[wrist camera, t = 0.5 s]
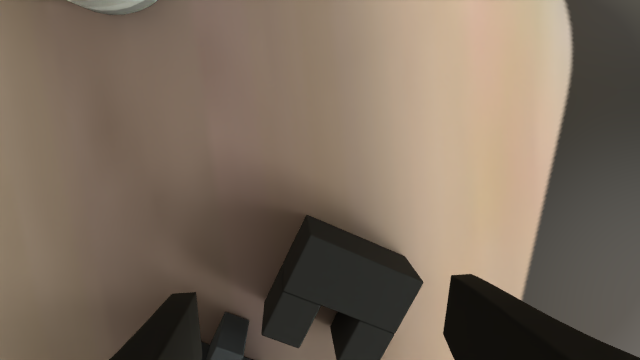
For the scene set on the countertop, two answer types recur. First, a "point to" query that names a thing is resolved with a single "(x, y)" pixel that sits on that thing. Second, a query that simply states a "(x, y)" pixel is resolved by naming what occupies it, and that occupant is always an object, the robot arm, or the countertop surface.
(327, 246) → the black notched block
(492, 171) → the countertop surface
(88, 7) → the travel mug
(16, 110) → the countertop surface
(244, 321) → the grey t-shaped block
